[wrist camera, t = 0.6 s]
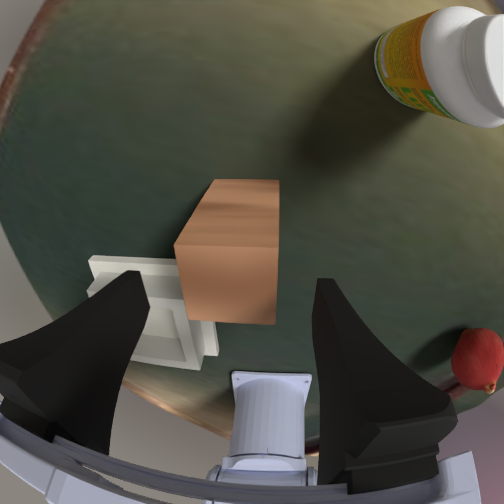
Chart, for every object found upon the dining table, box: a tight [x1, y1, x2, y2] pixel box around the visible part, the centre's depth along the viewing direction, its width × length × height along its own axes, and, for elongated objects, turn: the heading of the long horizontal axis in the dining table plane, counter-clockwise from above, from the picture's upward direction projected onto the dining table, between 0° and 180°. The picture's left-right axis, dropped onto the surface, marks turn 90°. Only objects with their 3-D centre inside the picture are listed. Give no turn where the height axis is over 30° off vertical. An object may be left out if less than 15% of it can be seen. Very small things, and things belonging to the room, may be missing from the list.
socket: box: [87, 255, 219, 370], centre depth 23 cm, size 10×10×3 cm
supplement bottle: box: [374, 6, 504, 128], centre depth 9 cm, size 5×5×10 cm
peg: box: [174, 179, 279, 325], centre depth 15 cm, size 4×4×8 cm
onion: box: [451, 328, 504, 394], centre depth 20 cm, size 6×6×8 cm
